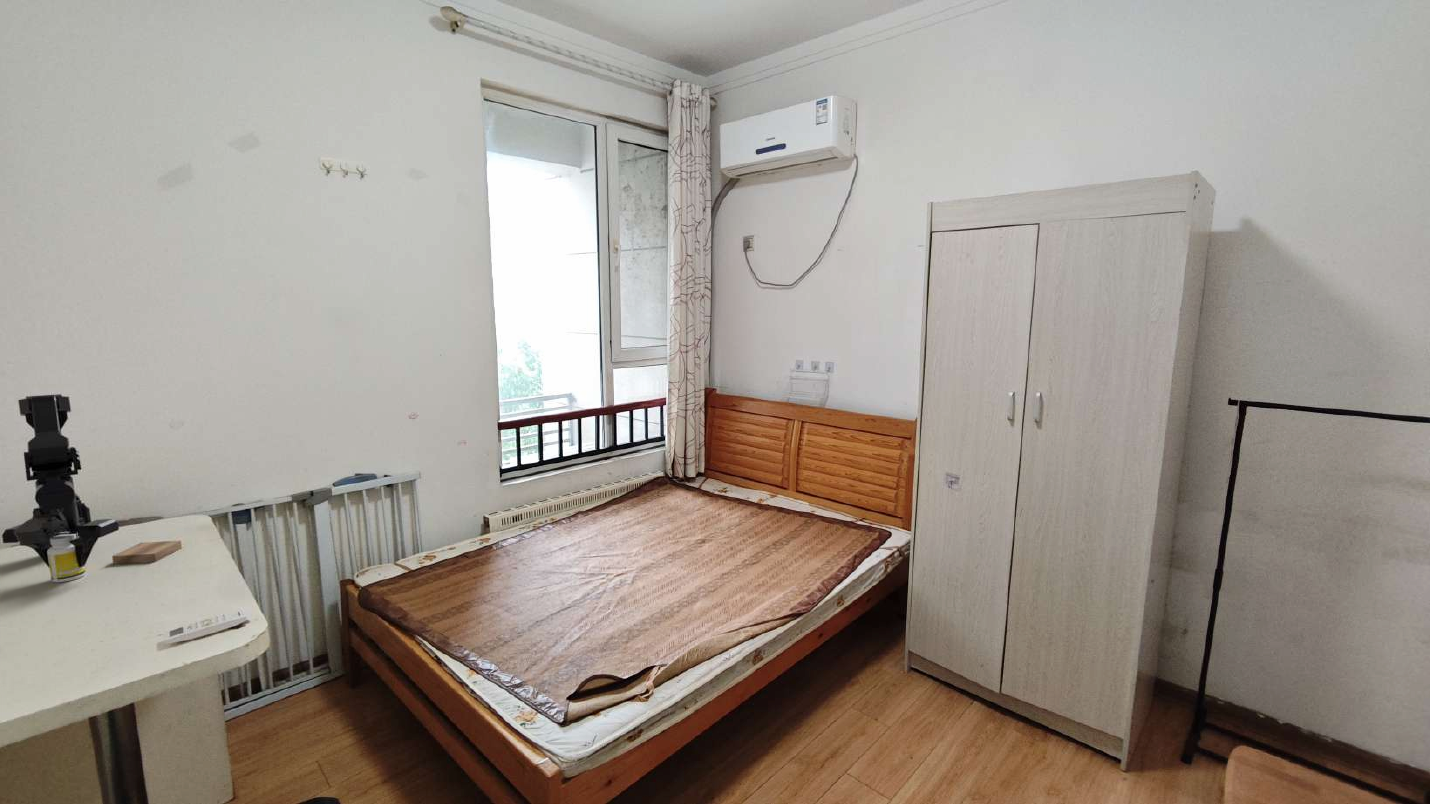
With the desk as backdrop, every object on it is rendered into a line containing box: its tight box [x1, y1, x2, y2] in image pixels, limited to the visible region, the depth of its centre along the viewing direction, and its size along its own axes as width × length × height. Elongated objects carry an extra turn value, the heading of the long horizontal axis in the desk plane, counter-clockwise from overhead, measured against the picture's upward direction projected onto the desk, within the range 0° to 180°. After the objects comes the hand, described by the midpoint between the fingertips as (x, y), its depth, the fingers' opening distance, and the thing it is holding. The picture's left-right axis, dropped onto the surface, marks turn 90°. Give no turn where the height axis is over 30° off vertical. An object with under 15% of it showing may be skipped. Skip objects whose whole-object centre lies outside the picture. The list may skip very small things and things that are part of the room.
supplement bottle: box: [47, 534, 86, 583], centre depth 138 cm, size 5×5×10 cm
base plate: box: [112, 540, 182, 565], centre depth 152 cm, size 9×9×2 cm
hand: (67, 567), depth 139 cm, fingers closed on supplement bottle, 5 cm apart
